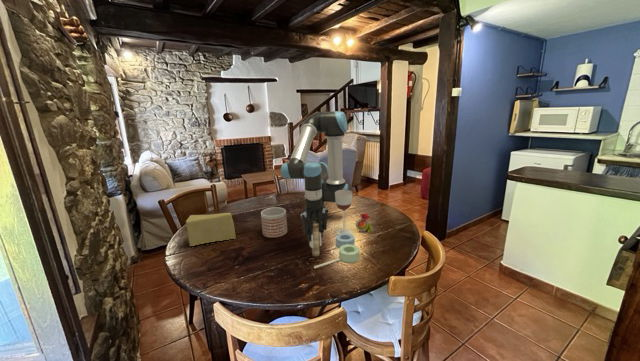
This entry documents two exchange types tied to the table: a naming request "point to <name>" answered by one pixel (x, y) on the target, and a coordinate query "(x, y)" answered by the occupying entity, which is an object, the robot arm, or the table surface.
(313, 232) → the wooden dowel
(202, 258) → the table surface
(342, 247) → the bead
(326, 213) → the robot arm
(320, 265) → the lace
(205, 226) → the cheese
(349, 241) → the blue bead
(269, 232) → the planter
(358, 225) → the red green lumpy piece
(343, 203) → the wineglass
